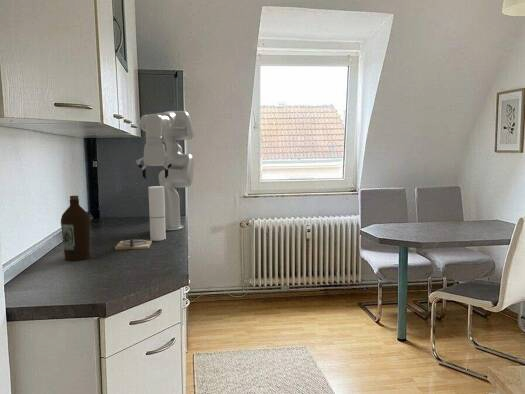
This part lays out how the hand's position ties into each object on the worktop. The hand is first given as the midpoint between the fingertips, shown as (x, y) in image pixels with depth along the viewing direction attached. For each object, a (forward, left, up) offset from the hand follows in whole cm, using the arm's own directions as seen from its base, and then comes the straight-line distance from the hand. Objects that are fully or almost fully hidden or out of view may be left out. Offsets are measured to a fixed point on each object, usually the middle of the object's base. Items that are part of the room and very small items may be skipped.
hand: (155, 178), depth 216 cm
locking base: (+13, -9, -29) cm, 33 cm away
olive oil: (+33, -28, -29) cm, 52 cm away
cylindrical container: (0, 0, -29) cm, 29 cm away
